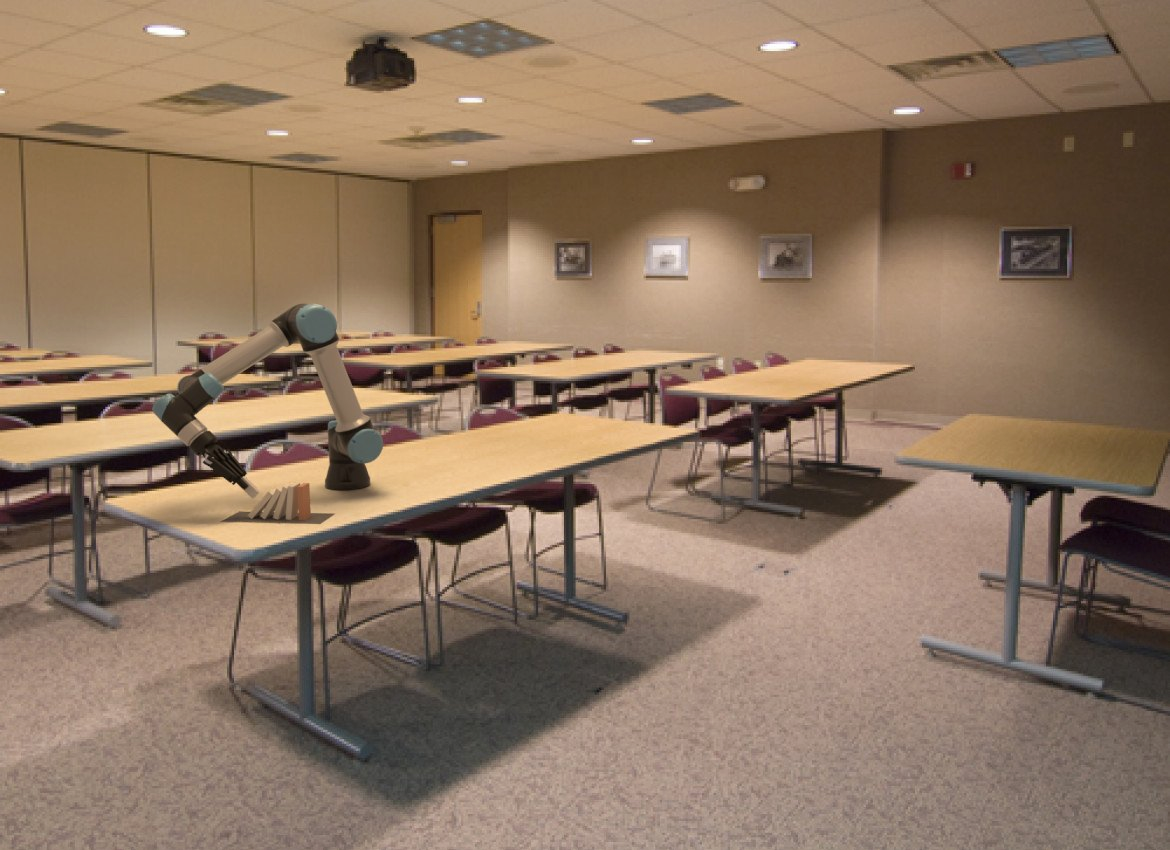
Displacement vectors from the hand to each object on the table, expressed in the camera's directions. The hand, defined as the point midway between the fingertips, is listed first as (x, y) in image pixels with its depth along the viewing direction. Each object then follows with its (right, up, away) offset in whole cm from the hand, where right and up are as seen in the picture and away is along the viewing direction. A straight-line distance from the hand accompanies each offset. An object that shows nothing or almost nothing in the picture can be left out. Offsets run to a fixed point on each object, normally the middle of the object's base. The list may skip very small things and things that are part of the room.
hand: (256, 495), depth 266 cm
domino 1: (-1, -6, +1) cm, 6 cm away
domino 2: (+3, -6, +1) cm, 7 cm away
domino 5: (+14, -7, 0) cm, 16 cm away
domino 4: (+10, -7, 0) cm, 12 cm away
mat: (+6, -7, +1) cm, 9 cm away
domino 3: (+6, -6, 0) cm, 9 cm away
